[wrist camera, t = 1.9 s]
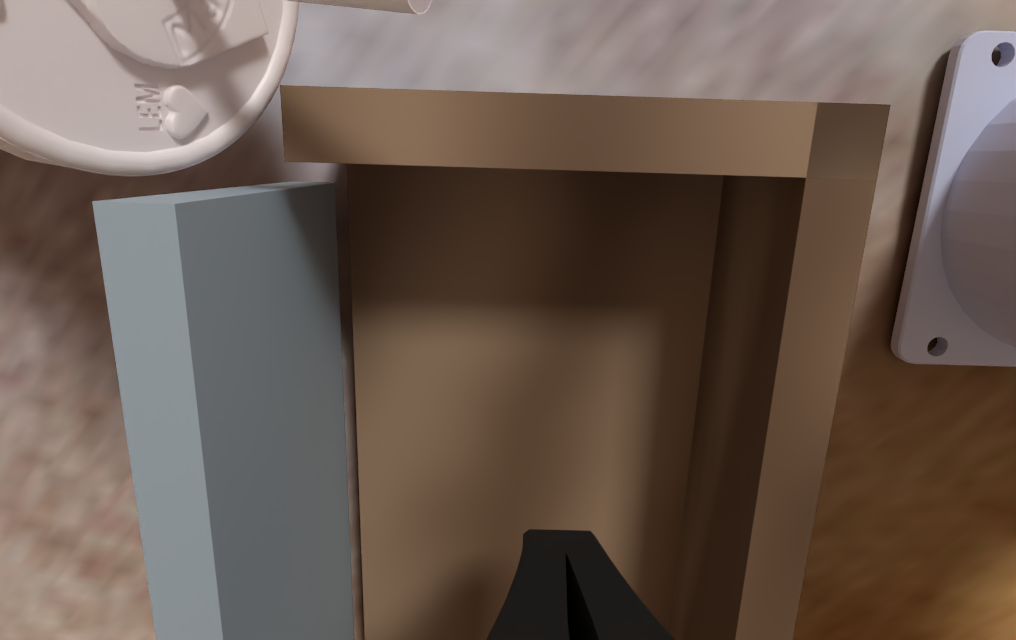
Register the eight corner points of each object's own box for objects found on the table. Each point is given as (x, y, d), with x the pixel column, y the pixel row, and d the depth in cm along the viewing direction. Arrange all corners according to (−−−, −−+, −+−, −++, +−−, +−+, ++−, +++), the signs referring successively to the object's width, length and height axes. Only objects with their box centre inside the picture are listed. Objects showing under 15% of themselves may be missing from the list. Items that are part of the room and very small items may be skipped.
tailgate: (334, 182, 14) (174, 203, 7) (356, 680, 18) (263, 999, 11) (292, 181, 14) (91, 200, 7) (322, 679, 18) (208, 998, 11)
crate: (764, 122, 15) (890, 104, 10) (686, 705, 19) (747, 887, 14) (355, 110, 15) (280, 84, 10) (375, 697, 19) (330, 878, 14)
